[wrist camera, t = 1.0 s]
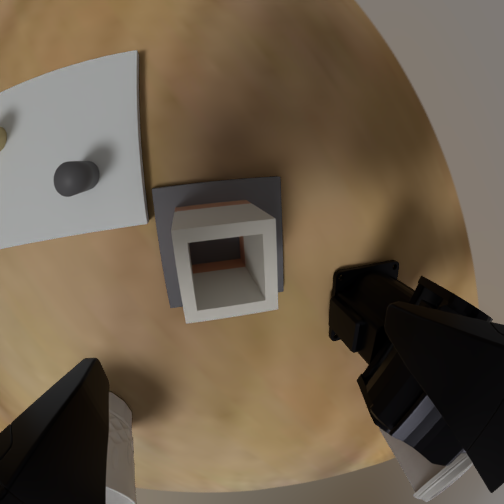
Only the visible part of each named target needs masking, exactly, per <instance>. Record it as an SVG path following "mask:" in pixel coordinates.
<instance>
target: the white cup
mask: <svg viewBox="0 0 504 504" xmlns="http://www.w3.org/2000/svg"><path fill="white" fill-rule="evenodd" d="M106 504H137V503H136V488H135V464H134V448H133V437H132V412H131V410H130V409H129V407H128V406H127V404H126V403H125V402H124V401H123V400H122V399H120V398H119V397H117V396H116V395H115V394H113V393H112V392H109V437H108V450H107V467H106Z"/></svg>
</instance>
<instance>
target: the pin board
mask: <svg viewBox="0 0 504 504" xmlns="http://www.w3.org/2000/svg"><path fill="white" fill-rule="evenodd" d="M148 222H149V216H148V209H147V201H146V192H145V183H144V173H143V161H142V149H141V133H140V112H139V54H138V51H137V50H135V51H129V52H124V53H118V54H114V55H109V56H105V57H100V58H96V59H92V60H88V61H84V62H81V63H77V64H74V65H70V66H67V67H64V68H61V69H58V70H55V71H52V72H49V73H46V74H43V75H41V76H38V77H35V78H33V79H30V80H28V81H25V82H23V83H20V84H18V85H16V86H14V87H11V88H9V89H7V90H5V91H3V92H1V93H0V249H3V248H8V247H13V246H18V245H23V244H28V243H33V242H39V241H44V240H49V239H55V238H61V237H66V236H72V235H78V234H84V233H90V232H96V231H103V230H109V229H116V228H122V227H129V226H136V225H143V224H147V223H148Z"/></svg>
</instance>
